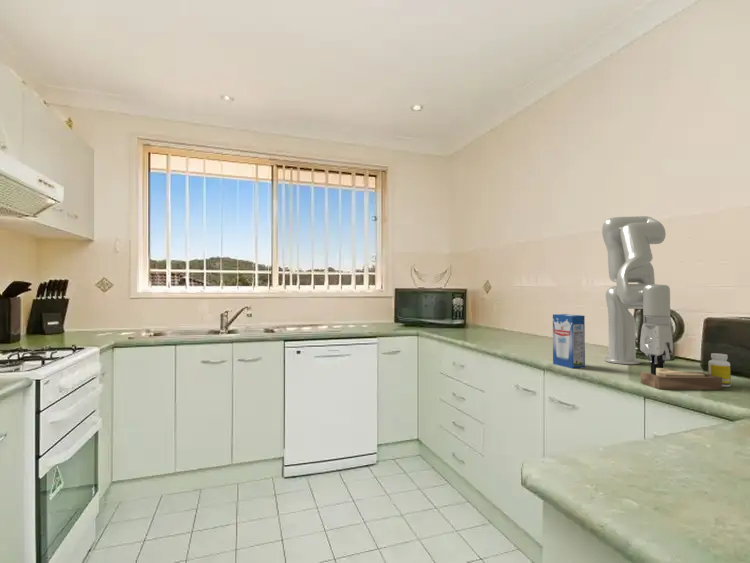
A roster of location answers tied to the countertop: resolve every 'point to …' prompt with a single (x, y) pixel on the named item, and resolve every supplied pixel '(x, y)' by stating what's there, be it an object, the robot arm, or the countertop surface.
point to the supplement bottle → (720, 368)
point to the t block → (676, 373)
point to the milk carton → (569, 340)
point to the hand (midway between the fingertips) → (657, 375)
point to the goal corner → (681, 382)
